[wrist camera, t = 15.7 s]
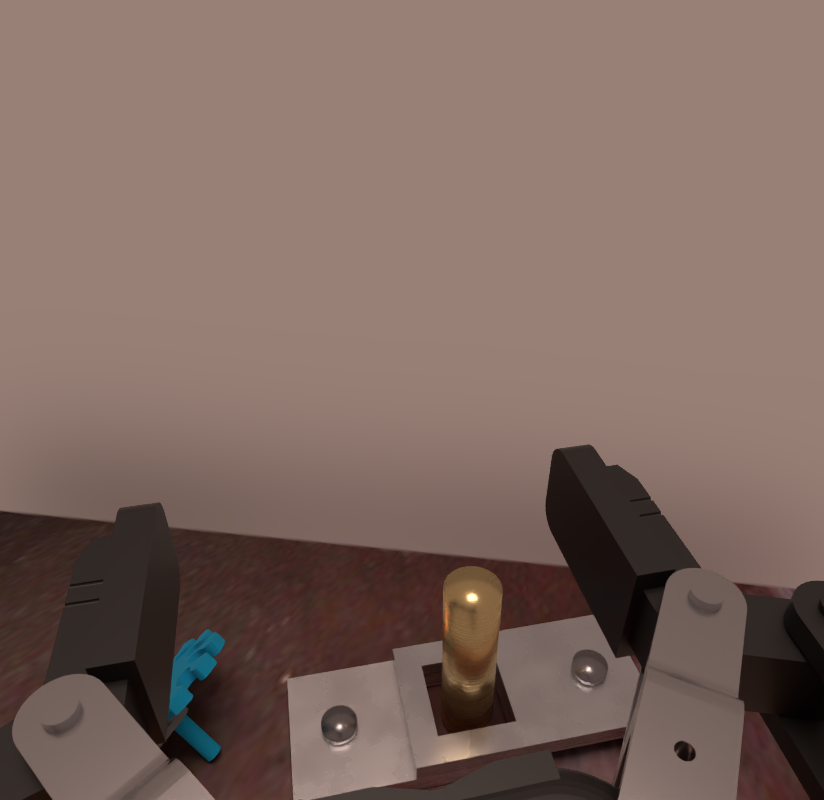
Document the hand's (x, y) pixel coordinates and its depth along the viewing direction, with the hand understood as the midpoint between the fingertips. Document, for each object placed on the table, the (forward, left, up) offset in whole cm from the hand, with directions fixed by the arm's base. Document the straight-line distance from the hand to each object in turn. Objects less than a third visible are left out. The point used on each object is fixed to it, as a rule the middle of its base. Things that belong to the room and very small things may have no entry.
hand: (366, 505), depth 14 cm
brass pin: (+7, +14, -32) cm, 35 cm away
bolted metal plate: (+7, +14, -32) cm, 35 cm away
